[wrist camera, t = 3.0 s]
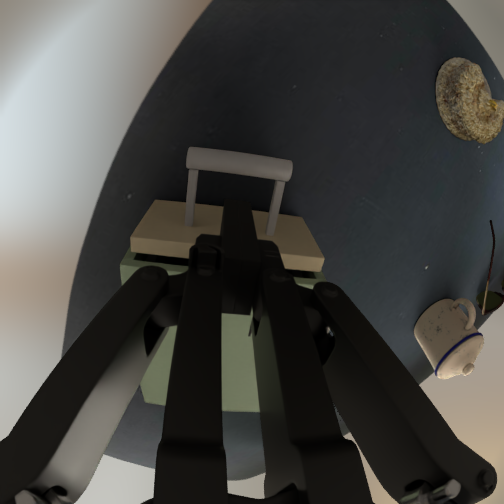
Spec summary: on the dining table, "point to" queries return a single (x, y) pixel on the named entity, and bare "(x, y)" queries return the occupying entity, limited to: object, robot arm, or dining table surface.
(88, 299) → the dining table surface
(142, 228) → the pull-out drawer
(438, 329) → the teacup with lid
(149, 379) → the green drawer box
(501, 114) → the cake
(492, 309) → the sunglasses
